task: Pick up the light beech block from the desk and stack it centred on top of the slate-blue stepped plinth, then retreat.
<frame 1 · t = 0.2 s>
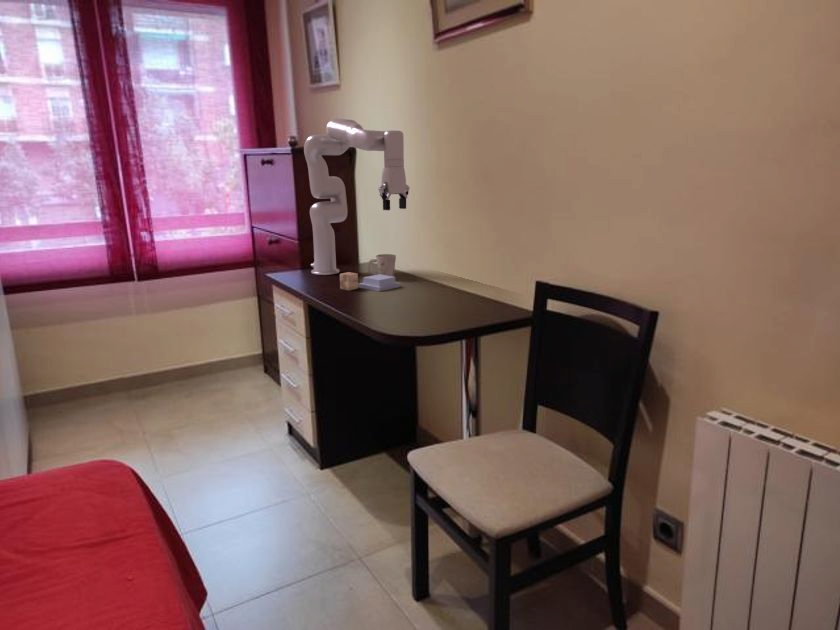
hand: (394, 209, 230), 31 cm above the table, fingers open, 9 cm apart
plinth: (379, 286, 237), on the table
mug: (381, 279, 254), on the table
beech block: (349, 288, 234), on the table
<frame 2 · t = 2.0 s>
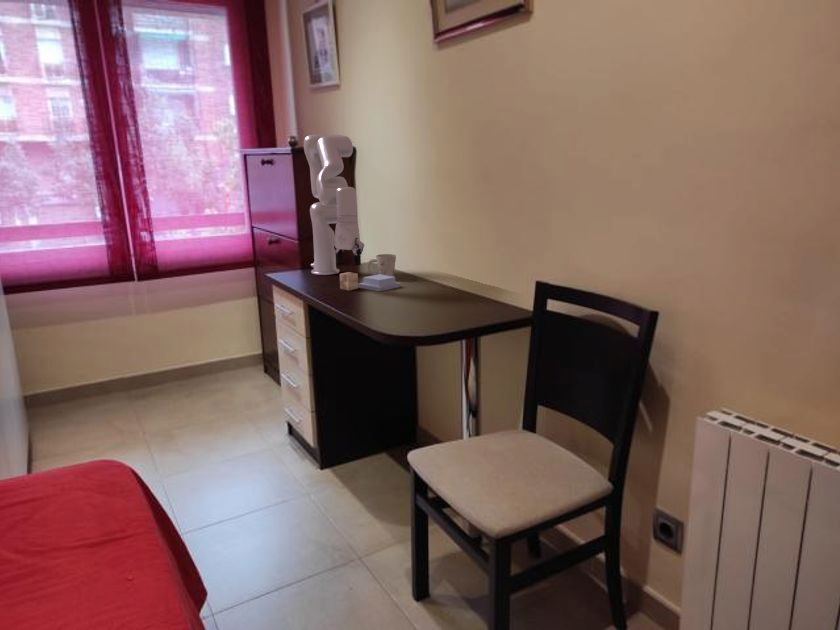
hand: (348, 264, 231), 10 cm above the table, fingers open, 9 cm apart
nothing on the table moved.
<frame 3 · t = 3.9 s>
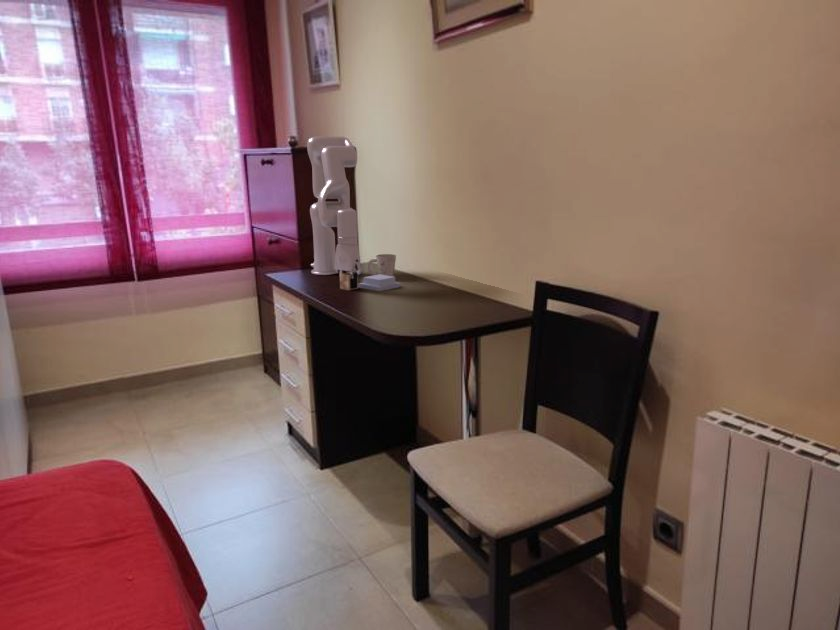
hand: (349, 286, 234), 1 cm above the table, fingers closed on beech block, 5 cm apart
beech block: (349, 288, 234), on the table, touching gripper
everything else where it was.
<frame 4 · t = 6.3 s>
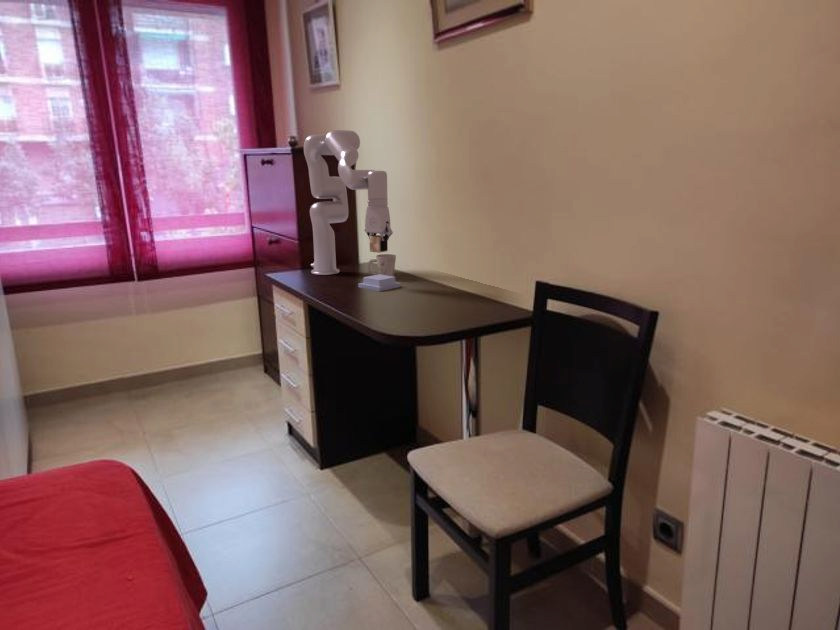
hand: (378, 249, 233), 15 cm above the table, fingers closed on beech block, 5 cm apart
beech block: (378, 251, 233), point 14 cm above the table, touching gripper
everything else where it was.
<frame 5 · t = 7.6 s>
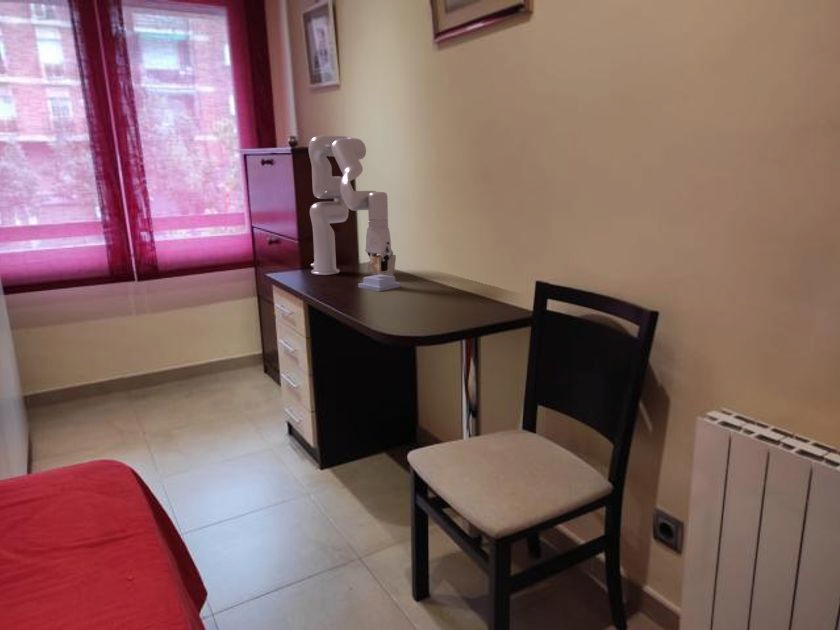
hand: (379, 269, 235), 7 cm above the table, fingers closed on beech block, 5 cm apart
beech block: (379, 271, 235), point 6 cm above the table, touching gripper
everything else where it was.
when the fingers open (6 cm above the table, at t = 8.7 s): beech block drops 1 cm, resting on plinth.
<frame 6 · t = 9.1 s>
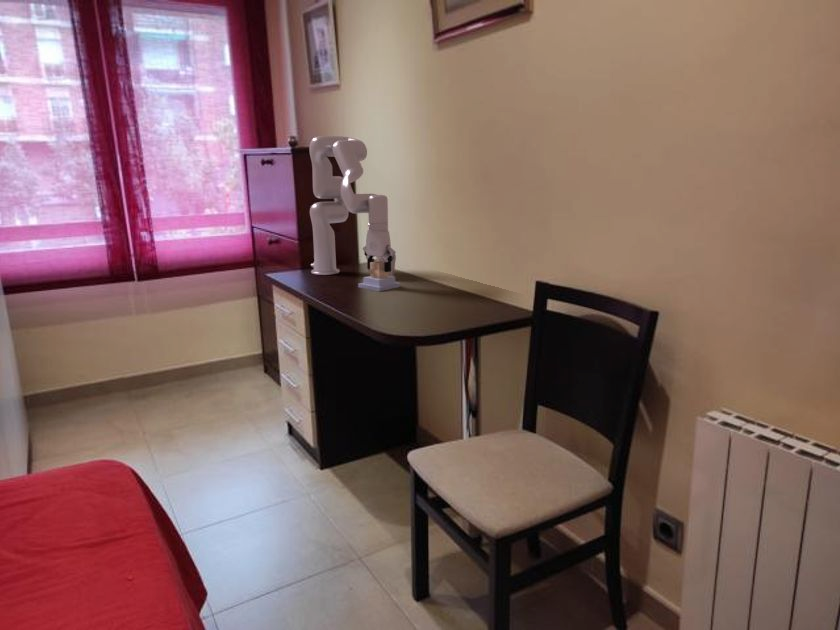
hand: (379, 270, 235), 7 cm above the table, fingers open, 9 cm apart
beech block: (379, 277, 236), point 4 cm above the table, touching plinth
everything else where it was.
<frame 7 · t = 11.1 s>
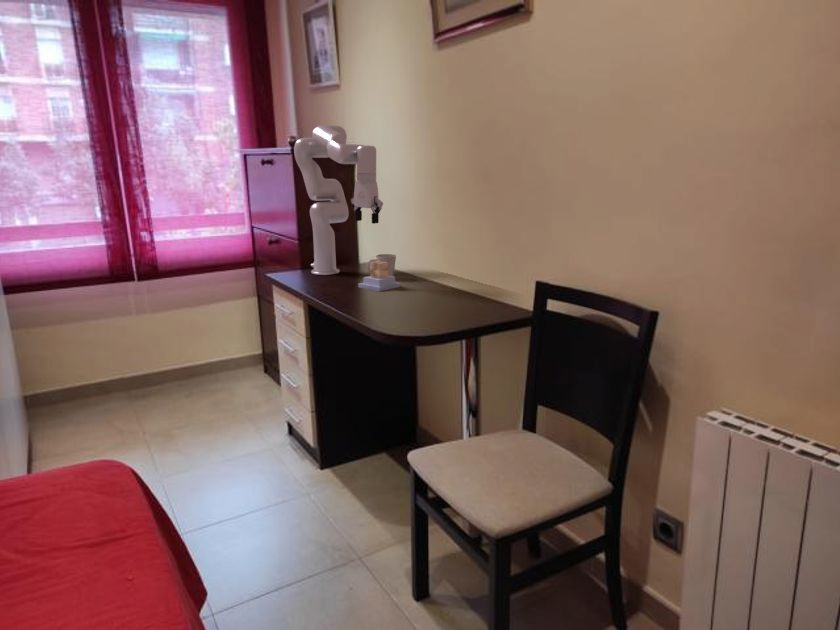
hand: (366, 221, 236), 25 cm above the table, fingers open, 9 cm apart
nothing on the table moved.
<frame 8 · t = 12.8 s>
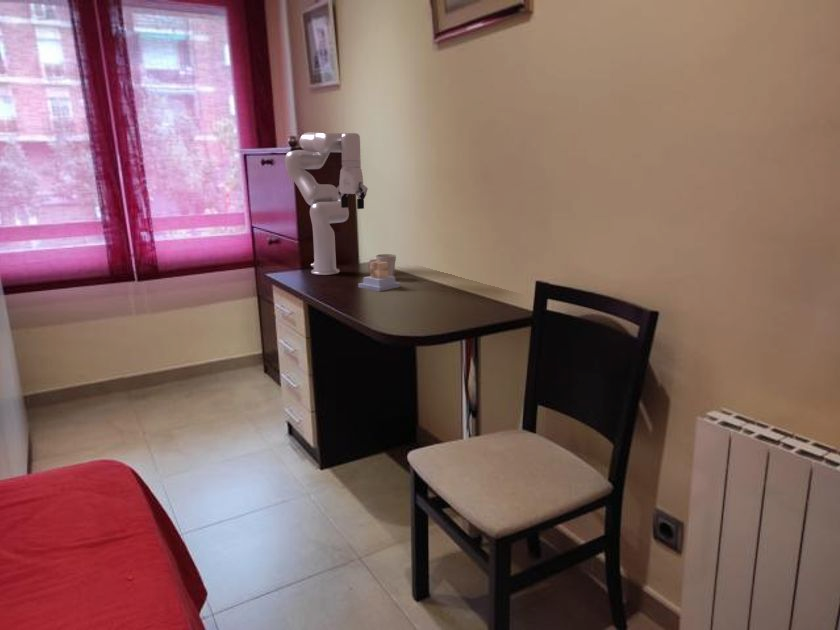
hand: (352, 208, 241), 30 cm above the table, fingers open, 9 cm apart
nothing on the table moved.
at the end: beech block inside the target area on the plinth (0.0 cm from its centre), point 4.0 cm above the plinth's base; beech block tilted 0°; the gripper is holding nothing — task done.
